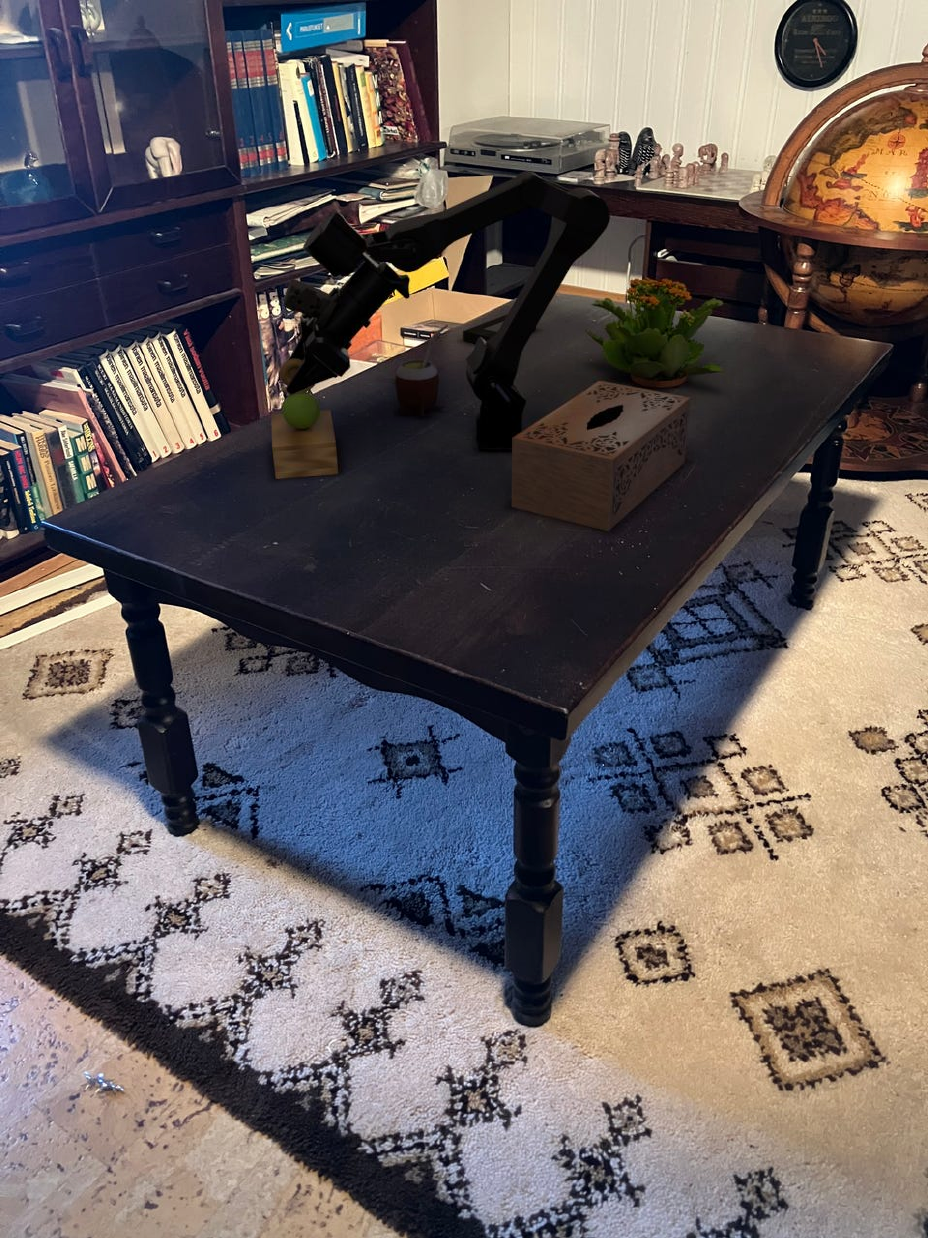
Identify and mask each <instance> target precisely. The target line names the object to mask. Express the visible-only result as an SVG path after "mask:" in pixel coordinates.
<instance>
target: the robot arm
mask: <svg viewBox="0 0 928 1238" xmlns="http://www.w3.org/2000/svg"><path fill="white" fill-rule="evenodd" d="M528 208H534V209H536V210H539V211H541V212H542V213H544V214H547V215H549V216H551V217H552V221H551V225H550V229H549V234H548V240H547V243H546V246H545V248H544V249H543V251H542V253H541V255H540V257H539V259H538V260H537V262H536V263H535V266H534V267H533V269H532V271H531V273H530V274H529V276H528V278H527V279H526V281H525V283H524V285H523V287H522V288H521V290H520V292H519V294H518V295H517V297H516V299H515V300H514V303H513V304H512V306H511V307H510V309H509V311H508V313H507V314H506V315H507V316H506V318H505V320H504V322H503V323H502V325H501V327H500V329H499V330H498V332H497V333H496V334H495V335H494V336H493V337H492V338H490V339H489V340H488V341H487V342H486V341H485V340H484V339H483V338H481V337H479V338H478V340H477V342H476V344H475V345H474V347H473V350H472V351H471V353H470V354H469V355H468V356H467V357H466V358H465V361H466V363H467V365H466V367H465V375H466V379H467V382H468V384H469V386H470V388H471V390H472V392H473V394H474V395H475V396H476V399H478V400H480V401H481V402H480V407H479V410H478V411H477V413H476V417H475V420H476V421H475V423H476V424H475V425H476V426H475V427H476V429H475V431H476V432H475V433H476V439H475V440H476V443H478V450H479V451H484V452H485V451H486V452H487V451H488V452H512V438H513V437H514V436H516V435H517V434H519V433H520V432H522V431H523V412H524V409H525V406H526V405H527V400H526V398H525V397H524V394H523V393H522V391H521V390H520V388H519V387H518V385H517V384H516V382H515V380H516V377H517V374H518V371H519V367H520V362H521V358H522V354H523V353H522V352H523V350H524V348H525V347H526V344H527V343H528V341H529V340H530V338H531V336H532V334H533V333H534V332H535V331H534V329H535V327H536V328H537V326H538V324H539V323H540V321H541V319H542V317H543V315H544V314H545V312H546V311H547V309H548V306H549V305H550V303H551V302H552V301H553V298H554V297H555V295H556V293H557V292H558V290H559V288H560V287H561V285H562V283H563V281H564V280H565V278H566V276H567V275H568V272H570V270H571V268H572V266H573V264H574V263H575V262H576V261H578V259H579V258H581V257H582V256H583V255H584V254H585V253H586V252H588V251H589V250H591V248H592V247H594V245H595V243H596V242H597V241H598V240H599V239H600V237H602V235H603V234H604V233H605V231H606V230H607V229H608V226H609V224H610V220H611V214H610V209H609V206H608V204H607V202H606V201H605V200H604V199H603V198H602V197H601V196H599V195H597V194H596V193H594V192H593V191H591V190H590V189H588V188H585V187H575V188H572V189H569V188H566V187H564V186H562V185H560V184H557V183H555V182H552V181H550V180H548V179H545V178H542V177H540V176H539V175H538V174H536V173H535V172H533V171H528V170H526V171H523V172H520V173H519V174H517V176H515V177H514V178H511V179H509V180H506V181H505V182H503V183H501V184H498V185H496V186H494V187H492V188H489V189H487V190H485V191H482V192H481V193H479V194H477V195H475V196H472V197H470V198H468V199H466V200H463V201H462V202H459V203H457V204H455V205H453V206H450V207H448V208H446V209H444V210H442V211H438V212H434V213H427V214H420V215H415V216H411V217H407V218H403V219H400V220H397V221H394V222H392V223H391V224H389V225H388V226H387V228H386V229H383V230H379V231H375V232H370V233H369V232H368V233H365V234H361V233H360V232H359V231H357V230H356V229H355V227H354V226H352V225H351V224H350V223H349V222H348V221H347V220H346V218H345V217H344V215H343V214H342V213H341V212H340V211H338V210H334V211H333V212H332V214H331V215H330V216H327V218H325V219H324V220H323V221H322V222H321V223H320V224H317V225H316V227H315V228H314V229H313V230H312V232H311V233H310V234H309V235H308V237H307V239H306V240H305V242H304V244H303V246H302V250H303V251H304V252H306V253H307V254H308V255H309V256H310V257H311V258H312V259H313V260H314V261H316V262H317V263H318V264H319V265H320V266H321V267H322V268H323V269H325V270H326V271H327V272H328V273H329V274H330V275H331V276H332V277H334V278H337V277H339V276H341V277H342V278H344V277H345V278H346V277H348V276H349V275H350V276H349V278H348V279H347V280H346V281H345V282H344V284H343V285H341V287H339V286H337V287H333V288H332V289H331V291H329V292H326V291H325V290H322V289H320V288H318V287H315V286H313V285H310V284H308V283H305V282H302V281H300V280H298V279H295V278H290V280H289V283H288V285H287V289H286V291H285V294H284V297H283V307H284V308H285V309H287V310H288V311H291V312H298V313H301V316H300V319H299V321H300V322H299V323H300V331H301V332H300V333H301V334H300V335H299V337H298V340H297V342H296V345H295V346H294V348H293V350H292V352H291V354H290V356H289V358H288V360H290V359H301V360H303V361H302V363H301V364H300V366H299V368H298V369H297V371H296V372H295V374H294V376H293V377H292V379H291V381H290V382H289V384H288V386H285V387H286V391H287V392H289V393H290V394H294V393H296V392H299V391H301V390H303V389H306V388H308V387H310V386H313V385H315V386H316V385H317V384H320V383H322V382H325V381H328V380H330V379H336V378H338V377H339V378H342V377H344V376H345V374H346V373H347V372H348V371H349V369H350V368H351V360H350V353H349V349H350V348H351V347H352V345H353V344H352V340H353V339H354V338H355V337H356V336H357V334H358V333H359V332H360V331H361V330H362V329H363V328H365V329H368V327H369V326H371V324H372V322H371V318H372V317H373V316H374V315H375V314H376V313H377V311H378V310H380V308H381V307H382V306H383V305H384V303H385V302H386V301H387V300H388V299H389V298H390V297H391V296H392V295H393V294H394V292H395V291H396V292H398V293H399V294H400V295H401V296H402V297H403V298H404V299H406V300H407V299H409V298H410V297H411V295H410V286H409V285H410V282H411V280H410V276H409V275H408V274H399V273H398V272H397V271H396V270H394V268H395V269H397V270H398V271H401V272H404V273H412V272H417V271H419V270H420V269H422V267H424V266H426V265H427V264H429V263H430V262H431V261H433V260H434V259H435V258H437V257H439V255H441V254H442V253H443V252H444V251H445V250H446V249H447V248H448V247H449V246H451V245H452V244H453V243H455V242H457V241H459V240H461V239H464V238H465V237H468V236H470V235H472V234H475V233H476V232H478V231H480V230H481V231H482V230H483V229H485V228H487V227H490V226H491V225H494V224H496V223H498V222H500V221H503V220H505V219H508V218H510V217H512V216H514V215H516V214H517V213H520V212H523V211H524V210H526V209H528ZM362 260H363V261H362ZM361 262H362V263H361ZM377 262H381V263H379V264H378V263H377ZM360 263H361V264H360ZM359 264H360V265H359ZM389 264H391V265H392V266H393V267H394V268H392V267H391V266H390V265H389ZM290 394H289V395H290Z"/></svg>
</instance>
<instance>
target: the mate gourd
mask: <svg viewBox="0 0 928 1238" xmlns="http://www.w3.org/2000/svg"><path fill="white" fill-rule="evenodd" d="M448 326H449V325H448V324H446V325H444V326H442V327H441V328H439V329H437V330H436V331H435V332H434V333H433V334H432V336H430V338H429V341H428V347H427V349H426V353H425V356H424V359H411V360H410V359H409V360H406V361H403V362H402V363H400V365H399V366H398V368H397V371H396V373H395V374H396V376H395V381H394V384H395V385H394V386H395V391H396V397H397V398H396V399H397V401H398V404H399V407H400V410H399V414H400V415H401V416H403V415H404V416H405V415H411V414H417V416H418V417H419V418H420V419H426V413H427V412H434V411H437V410H438V409H437V408H438V407H437V406H436V403H437V398H438V394H439V386H440V378H439V374H438V369H437V368H436V366H435V365H434V364H433V363H432V362H431V361H429V358H430V354H431V351H432V348H433V345H434V344H435V342H436V338H437V337H438V336H439V334H441V333H442V332H443V331H444V330H446V329H447V328H448Z"/></svg>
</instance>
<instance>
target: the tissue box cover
mask: <svg viewBox="0 0 928 1238" xmlns="http://www.w3.org/2000/svg"><path fill="white" fill-rule="evenodd" d="M691 402H692V397H689V396H684V395H680V394H673V393H669V392H663V391H657V390H652V389H648V388H647V389H646V388H641V387H637V386H636V387H635V386H630V385H624V384H620V383H619V384H618V383H613V382H608V381H603V380H598V381H596V382H595V383H593V384H592V385H590V386H589V387H587V388H586V389H584V390H583V391H581V392H580V393H578V394H576V395H575V396H574V397H572V398H571V399H569V400H568V401H566V402H565V403H563V404H562V405H559V406H558V407H557V408H555V409H554V410H552V411H550V412H549V413H547V414H546V415H544V416H543V417H542V418H540V419H539V420H537V421H536V422H534V423H533V424H531V425H529V426H528V427H526V428H525V429H522V432H520V433H519V434H517V435H516V436H514V437H513V438H512V451H511V507H512V508H515V509H518V510H522V511H526V512H530V513H534V514H537V515H541V516H546V517H549V518H554V519H558V520H561V521H565V522H569V523H573V524H577V525H580V526H585V527H589V528H592V529H597V530H599V531H600V530H601V531H604V532H608V533H609V531H611V530H612V529H613V528H614V527H615V526H616V525H617V524H619V522H621V521H622V520H623V519H624V518H625V517H626V516H627V515H629V513H631V512H632V511H633V510H634V509H635V508H636V507H637V506H638V505H640V504H641V503H642V502H643V501H644V500H645V499H646V498H647V497H648V496H650V494H651V493H653V492H654V491H655V490H656V489H657V488H659V487H660V486H661V485H662V484H663V483H664V482H665V481H666V480H668V478H669V477H671V475H673V474H674V473H675V472H676V471H677V470H678V469H679V468H680V467H682V465H684V464H685V462H686V460H685V459H686V452H687V451H686V450H687V439H688V431H689V423H690V422H689V421H690V412H691Z"/></svg>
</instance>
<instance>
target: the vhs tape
mask: <svg viewBox="0 0 928 1238" xmlns="http://www.w3.org/2000/svg"><path fill="white" fill-rule="evenodd" d="M507 315H508V314H504V315H502V316H500V317H497V318H493V319H492V320H487V321H486V322H483V323H480V324H478V325H475V326H473V327H470V328H467V329H465V330H462V341H463V342H467V343H471V344H475V345H476V342H477V340H478V338H479V337H481V338H483V339H484V340H485V341H486V342H487V341H488V340H489V339H490V338H492V337H493V336H494V335H495V334H496V333H497V332H498V330H499V329H500V327H501V325H502V323H503V322H504V320H505V318H506V316H507ZM535 331H537V326H536V327H535V329H534V331H533V332H535Z"/></svg>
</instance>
